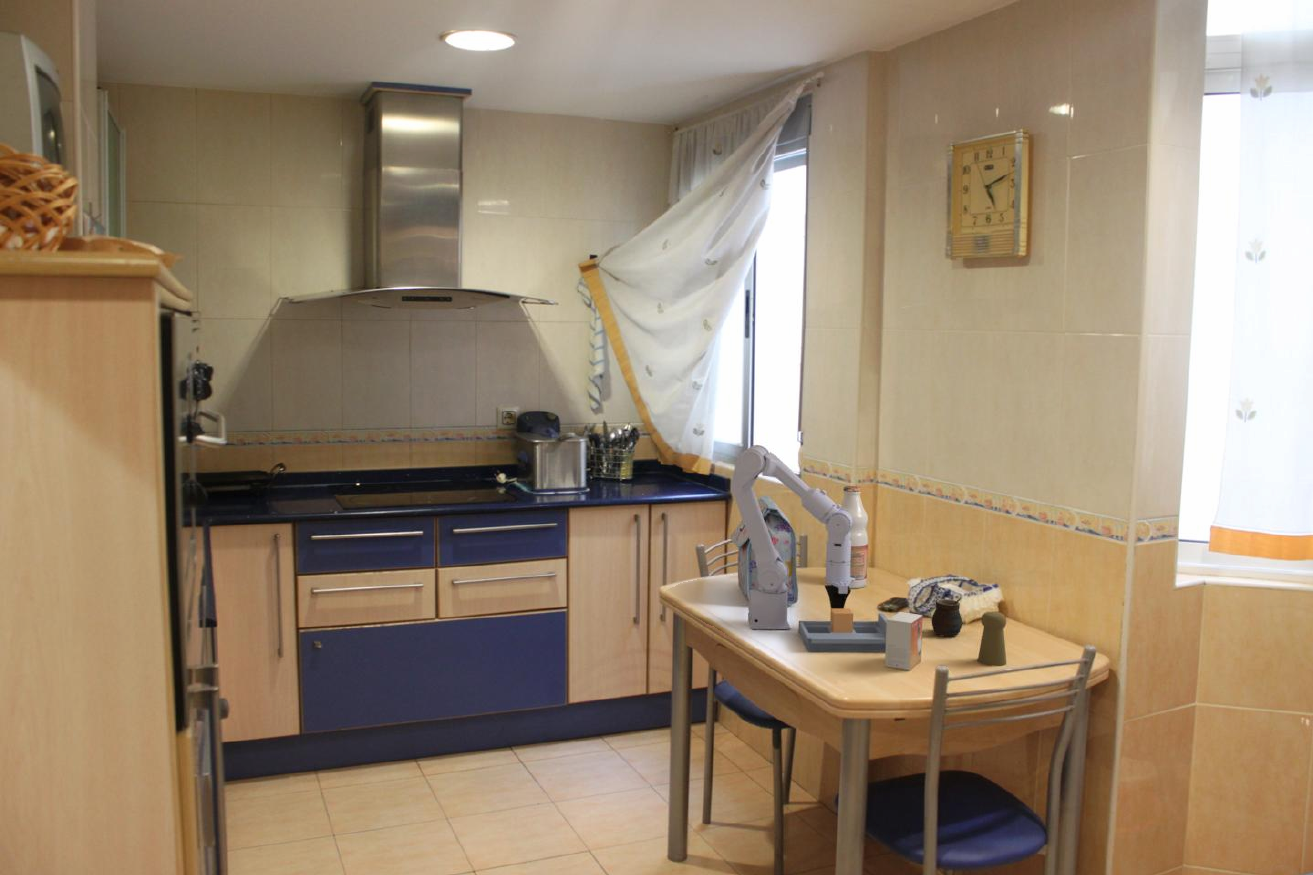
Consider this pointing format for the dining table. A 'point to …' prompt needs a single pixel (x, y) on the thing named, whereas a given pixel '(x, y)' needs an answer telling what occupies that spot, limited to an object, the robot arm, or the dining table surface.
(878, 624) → the tray
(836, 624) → the block
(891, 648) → the small box
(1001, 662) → the olive green pepper mill
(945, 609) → the mate gourd
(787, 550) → the lunch bag
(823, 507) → the robot arm
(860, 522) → the fruit juice
